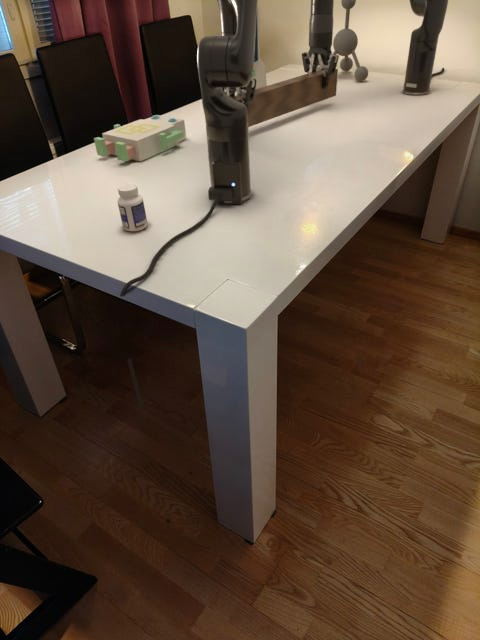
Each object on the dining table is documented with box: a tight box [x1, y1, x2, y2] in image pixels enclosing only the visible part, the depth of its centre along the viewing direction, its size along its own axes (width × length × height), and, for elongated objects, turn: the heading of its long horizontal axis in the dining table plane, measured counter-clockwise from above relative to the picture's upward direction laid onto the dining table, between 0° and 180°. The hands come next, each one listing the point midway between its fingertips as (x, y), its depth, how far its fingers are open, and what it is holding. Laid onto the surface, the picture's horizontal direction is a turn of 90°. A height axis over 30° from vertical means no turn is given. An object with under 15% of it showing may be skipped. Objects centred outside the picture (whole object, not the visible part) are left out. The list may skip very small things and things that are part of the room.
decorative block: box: [93, 114, 187, 162], centre depth 144 cm, size 26×6×20 cm
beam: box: [231, 68, 339, 128], centre depth 155 cm, size 54×4×9 cm, turn 136°
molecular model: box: [316, 0, 369, 82], centre depth 196 cm, size 24×22×30 cm
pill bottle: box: [117, 182, 148, 232], centre depth 102 cm, size 5×5×9 cm
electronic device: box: [235, 6, 268, 95], centre depth 180 cm, size 12×8×30 cm, turn 105°
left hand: (238, 114), depth 145 cm, fingers closed on beam, 4 cm apart
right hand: (318, 87), depth 166 cm, fingers closed on beam, 4 cm apart
